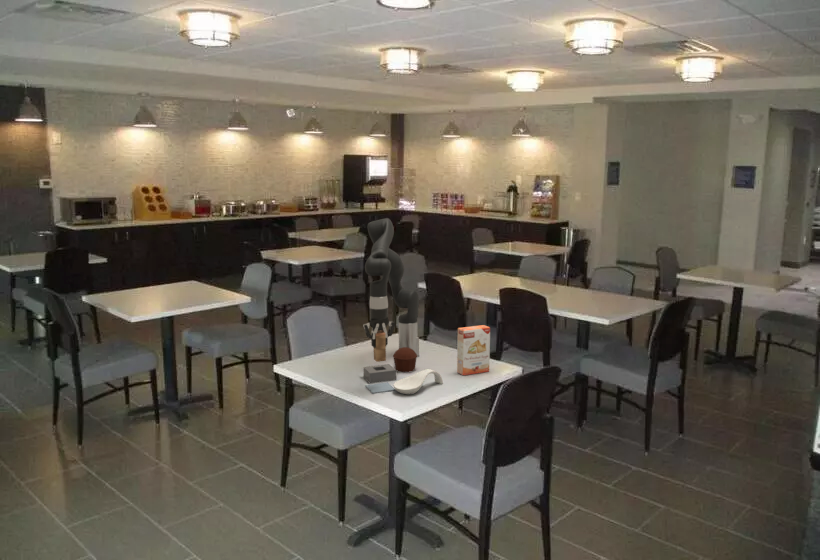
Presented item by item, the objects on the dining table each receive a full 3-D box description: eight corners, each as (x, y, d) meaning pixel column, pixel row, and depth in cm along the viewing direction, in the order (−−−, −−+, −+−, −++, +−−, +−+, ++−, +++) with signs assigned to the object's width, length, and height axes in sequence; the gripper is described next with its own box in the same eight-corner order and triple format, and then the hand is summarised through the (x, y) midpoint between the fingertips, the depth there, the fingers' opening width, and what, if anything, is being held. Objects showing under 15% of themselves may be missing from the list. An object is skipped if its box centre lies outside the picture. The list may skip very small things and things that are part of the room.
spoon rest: (406, 399, 263) (406, 382, 262) (387, 392, 272) (387, 375, 270) (448, 386, 278) (448, 370, 277) (429, 379, 287) (429, 364, 286)
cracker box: (463, 376, 290) (463, 330, 287) (456, 372, 296) (456, 327, 292) (490, 371, 296) (490, 326, 293) (483, 368, 302) (483, 324, 298)
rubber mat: (387, 383, 282) (387, 382, 282) (395, 390, 273) (395, 389, 272) (365, 386, 278) (365, 385, 278) (372, 393, 269) (372, 392, 269)
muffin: (392, 366, 307) (392, 345, 305) (415, 365, 308) (415, 344, 306) (394, 373, 295) (393, 352, 293) (418, 372, 296) (418, 351, 294)
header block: (388, 373, 296) (388, 363, 295) (396, 379, 286) (396, 370, 286) (363, 376, 291) (363, 366, 291) (370, 383, 282) (369, 373, 281)
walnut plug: (382, 358, 276) (382, 330, 274) (385, 360, 272) (385, 332, 270) (373, 359, 275) (373, 331, 273) (376, 361, 271) (376, 333, 269)
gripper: (392, 303, 276) (392, 342, 278) (359, 306, 271) (360, 346, 273) (398, 306, 269) (398, 347, 271) (364, 309, 264) (365, 350, 267)
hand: (379, 346), depth 272 cm, fingers closed on walnut plug, 4 cm apart
